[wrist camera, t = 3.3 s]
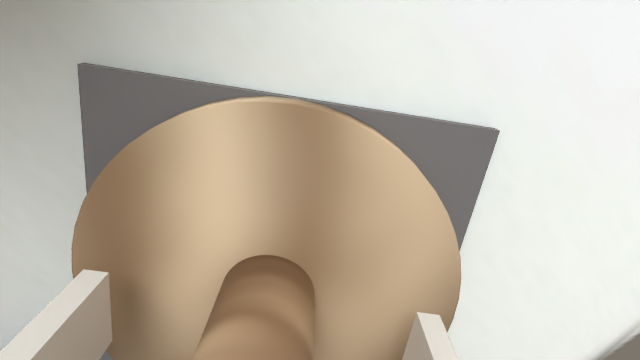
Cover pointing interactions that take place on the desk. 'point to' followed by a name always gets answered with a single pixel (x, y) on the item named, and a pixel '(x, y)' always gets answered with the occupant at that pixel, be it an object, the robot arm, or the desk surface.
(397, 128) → the mat
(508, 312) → the desk surface
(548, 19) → the desk surface
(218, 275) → the lid
